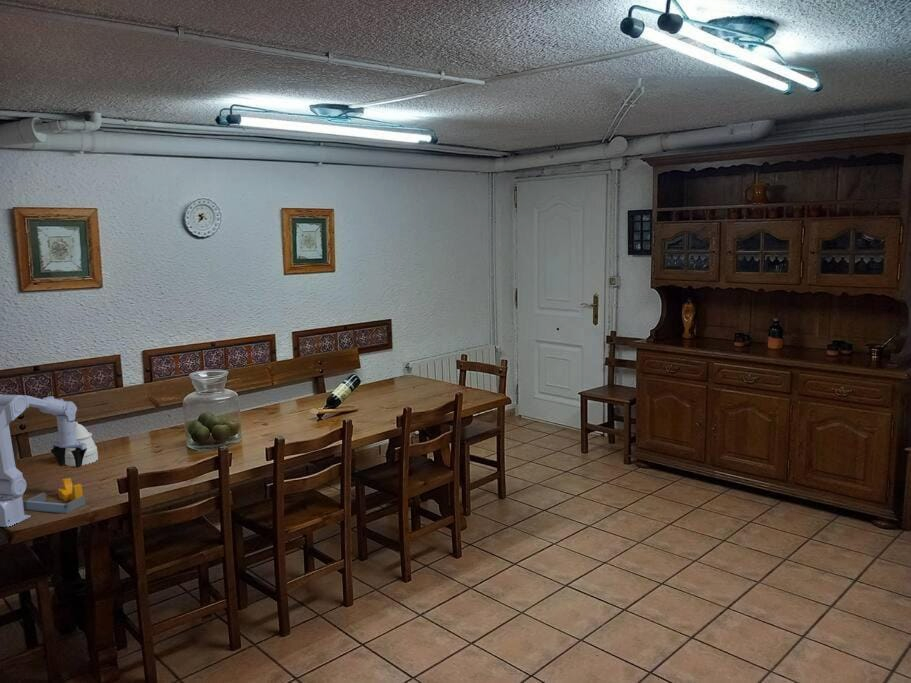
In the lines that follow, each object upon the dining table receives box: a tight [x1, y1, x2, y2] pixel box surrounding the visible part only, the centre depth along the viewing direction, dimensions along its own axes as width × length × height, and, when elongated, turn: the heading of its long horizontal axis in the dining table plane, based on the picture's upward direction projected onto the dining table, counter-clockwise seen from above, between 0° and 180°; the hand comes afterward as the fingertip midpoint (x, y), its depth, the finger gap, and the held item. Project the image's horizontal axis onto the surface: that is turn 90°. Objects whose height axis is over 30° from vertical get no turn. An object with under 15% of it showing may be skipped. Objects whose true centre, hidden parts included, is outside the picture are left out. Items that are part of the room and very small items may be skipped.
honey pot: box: [65, 421, 99, 467], centre depth 305 cm, size 13×13×18 cm
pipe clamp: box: [57, 477, 84, 502], centre depth 262 cm, size 12×4×6 cm, turn 48°
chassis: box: [23, 492, 86, 514], centre depth 255 cm, size 9×18×3 cm, turn 77°
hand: (70, 466), depth 269 cm, fingers open, 7 cm apart
